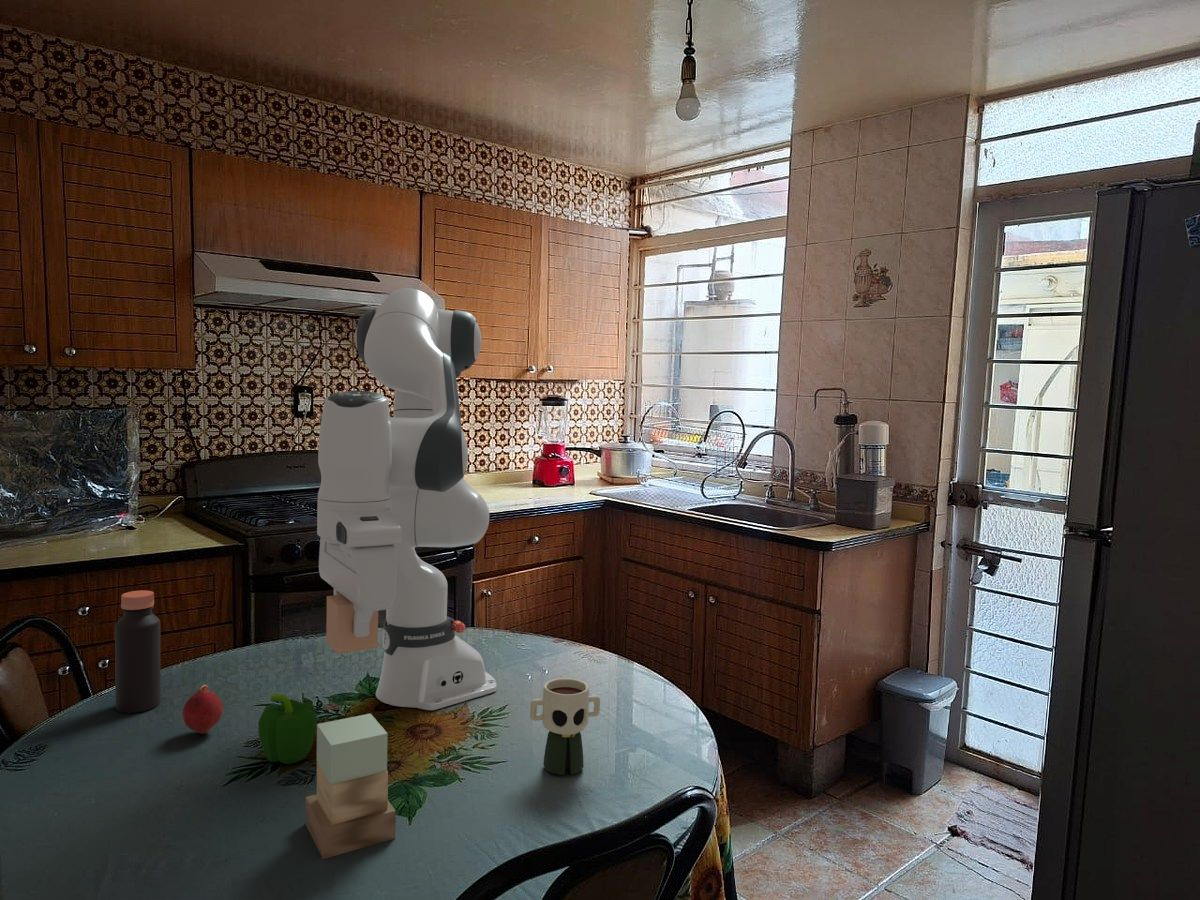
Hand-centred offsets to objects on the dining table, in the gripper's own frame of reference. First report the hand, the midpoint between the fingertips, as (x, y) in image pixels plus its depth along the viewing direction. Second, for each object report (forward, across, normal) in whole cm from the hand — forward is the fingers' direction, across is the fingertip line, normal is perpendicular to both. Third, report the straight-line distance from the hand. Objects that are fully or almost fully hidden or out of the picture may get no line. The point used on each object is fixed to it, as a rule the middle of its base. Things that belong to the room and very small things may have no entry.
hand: (352, 628), depth 100 cm
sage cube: (+18, 0, 0) cm, 18 cm away
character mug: (+27, -1, +33) cm, 43 cm away
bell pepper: (+27, -25, -2) cm, 37 cm away
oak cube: (+23, 0, 0) cm, 23 cm away
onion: (+27, -40, -12) cm, 50 cm away
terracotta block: (+2, 0, 0) cm, 2 cm away
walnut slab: (+27, 0, 0) cm, 27 cm away
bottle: (+27, -57, -20) cm, 66 cm away
